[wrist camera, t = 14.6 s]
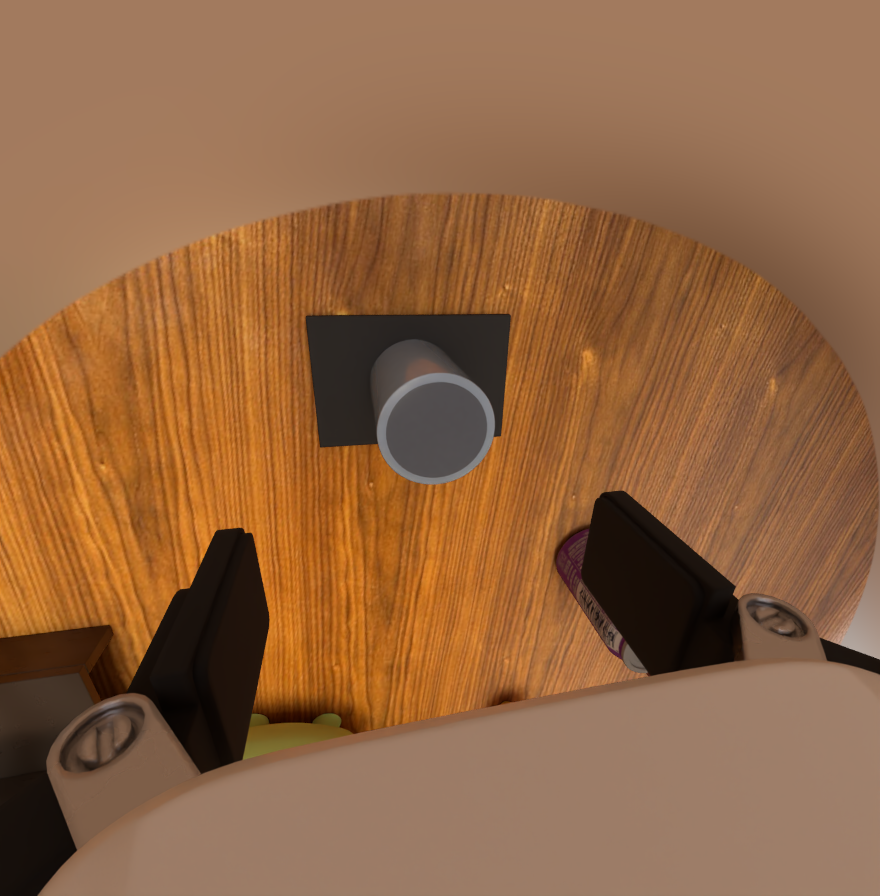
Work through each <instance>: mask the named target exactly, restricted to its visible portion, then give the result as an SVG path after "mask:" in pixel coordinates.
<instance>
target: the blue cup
mask: <svg viewBox="0 0 880 896" xmlns="http://www.w3.org/2000/svg"><path fill="white" fill-rule="evenodd" d="M370 393H371V400H372V407H373V414H374V421H375V428H376V434H377V441H378V446H379V449H380V452H381V454H382V456H383V458H384V459H385V461H386V462H387V464H388V465H389V466H390V467H391V468H392V469H393V470H394V471H395V472H396V473H398V474H399V475H401V476H402V477H404V478H406V479H408V480H411V481H414V482H417V483H422V484H442V483H447V482H450V481H453V480H456V479H458V478H460V477H462V476H464V475H466V474H467V473H469V472H470V471H471V470H473V469H474V468H475V467H476V466H477V465H478V464H479V463H480V462H481V461H482V459H483V458H484V457H485V455H486V454H487V452H488V450H489V448H490V446H491V443H492V440H493V436H494V430H495V418H494V412H493V409H492V406H491V404H490V401H489V400H488V398H487V396H486V395H485V393H484V392H483V391H482V390H481V389H480V388H479V387H478V386H477V385H476V384H475V383H474V381H473V380H472V379H471V378H470V377H469V376H468V375H467V374H466V373H465V372H464V371H463V370H462V369H461V368H460V367H459V366H458V365H457V364H456V363H455V362H454V361H453V360H452V359H451V358H450V357H449V356H448V355H447V354H446V353H445V352H444V351H443V350H442V349H441V348H440V347H438V346H437V345H435V344H433V343H431V342H428V341H424V340H417V339H412V340H405V341H401V342H398V343H396V344H394V345H392V346H390V347H389V348H387V349H386V350H385V351H384V352H383V353H382V354H381V355H380V356H379V357H378V358H377V360H376V362H375V363H374V366H373V368H372V371H371V374H370Z"/></svg>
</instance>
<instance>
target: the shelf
mask: <svg viewBox="0 0 880 896" xmlns="http://www.w3.org/2000/svg"><path fill="white" fill-rule="evenodd" d="M112 636H113V633H112V630H111V628H110V626H109V625H108V626H100V627H92V628H84V629H76V630H68V631H60V632H52V633H44V634H36V635H28V636H20V637H12V638H3V639H0V806H1V805H2V804H3V803H5V802H6V801H7V800H9V799H10V798H11V797H13V796H14V795H16V794H17V793H18V792H20V791H21V790H22V789H24V788H25V787H26V786H28V785H29V784H31V783H32V782H33V781H35V780H36V779H37V778H39V777H40V776H41V775H43V774H44V773H45V772H47V764H46V760H47V757H48V754H49V752H50V749H51V746H52V745H53V743H54V742H55V740H56V739H57V737H58V736H59V734H60V733H61V732H62V731H63V730H64V729H65V728H66V727H67V726H68V725H69V724H70V723H71V722H72V721H73V720H74V719H75V718H76V717H77V716H79V715H80V714H81V713H83V712H84V711H85V710H87V709H88V708H90V707H91V706H93V705H95V704H97V703H99V702H101V699H100V697H99V695H98V693H97V691H96V689H95V687H94V685H93V682H92V680H91V678H90V676H89V673H90V672H91V670H92V669H93V667H94V665H95V664H96V662H97V660H98V659H99V657H100V656H101V654H102V652H103V651H104V649H105V648H106V646H107V644H108V643H109V641H110V640H111V638H112Z"/></svg>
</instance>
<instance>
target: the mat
mask: <svg viewBox="0 0 880 896" xmlns="http://www.w3.org/2000/svg"><path fill="white" fill-rule="evenodd" d="M510 319H511V315H509V314H452V315H322V316H306V324H307V333H308V342H309V351H310V360H311V369H312V378H313V387H314V396H315V405H316V414H317V423H318V432H319V441H320V447H334V446H351V445H367V444H378V441H377V434H376V428H375V421H374V414H373V407H372V400H371V393H370V374H371V371H372V368H373V366H374V363H375V362H376V360H377V358H378V357H379V356H380V355H381V354H382V353H383V352H384V351H385V350H386V349H387V348H389V347H390V346H392V345H394V344H396V343H398V342H401V341H405V340H412V339H417V340H424V341H428V342H431V343H433V344H435V345H437V346H438V347H440V348H441V349H442V350H443V351H444V352H445V353H446V354H447V355H448V356H449V357H450V358H451V359H452V360H453V361H454V362H455V363H456V364H457V365H458V366H459V367H460V368H461V369H462V370H463V371H464V372H465V373H466V374H467V375H468V376H469V377H470V378H471V379H472V380H473V381H474V383H475V384H476V385H477V386H478V387H479V388H480V389H481V390H482V391H483V392H484V393H485V395H486V396H487V398H488V400H489V401H490V404H491V406H492V409H493V412H494V418H495V430H494V436H493V437H497V436H501V429H502V417H503V404H504V392H505V380H506V368H507V355H508V343H509V331H510Z"/></svg>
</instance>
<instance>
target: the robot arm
mask: <svg viewBox="0 0 880 896" xmlns="http://www.w3.org/2000/svg"><path fill="white" fill-rule="evenodd" d="M581 577H582V580H583V582H584V584H585V586H586V587H587V588H588V590H589V591H590V593H591V594H592V595H593V597H594V598H595V599H596V601H597V602H598V604H599V605H600V606H601V608H602V609H603V611H604V612H605V613H606V615H607V616H608V618H609V619H610V620H611V622H612V623H613V624H614V626H615V627H616V629H617V630H618V631H619V633H620V634H621V636H622V637H623V638H624V640H625V641H626V643H627V644H628V645H629V647H630V648H631V649H632V651H633V652H634V654H635V655H636V656H637V658H638V659H639V661H640V662H641V663H642V665H643V666H644V667H645V669H646V670H647V672H648V673H649V674H650V676H649V677H643V678H638V679H633V680H627V681H622V682H617V683H611V684H606V685H601V686H595V687H590V688H585V689H580V690H574V691H569V692H564V693H559V694H554V695H548V696H543V697H538V698H533V699H528V700H523V701H517V702H512V703H507V704H502V705H497V706H492V707H487V708H482V709H476V710H471V711H466V712H461V713H456V714H451V715H446V716H441V717H436V718H431V719H426V720H421V721H416V722H411V723H406V724H401V725H396V726H391V727H386V728H381V729H376V730H371V731H366V732H361V733H356V734H352V735H347V736H343V737H338V738H333V739H329V740H324V741H320V742H315V743H310V744H306V745H301V746H297V747H292V748H288V749H283V750H279V751H275V752H271V753H267V754H264V755H260V756H256V757H252V758H248V759H245V760H243V756H244V751H245V746H246V741H247V736H248V731H249V726H250V720H251V715H252V710H253V705H254V700H255V695H256V690H257V685H258V680H259V675H260V670H261V665H262V660H263V655H264V650H265V645H266V640H267V634H268V629H269V612H268V607H267V602H266V597H265V592H264V587H263V582H262V577H261V572H260V567H259V563H258V558H257V553H256V548H255V543H254V538H253V535H252V533H245V532H244V530H243V528H234V529H224V530H217V531H216V532H215V534H214V536H213V538H212V541H211V543H210V545H209V547H208V549H207V552H206V554H205V556H204V558H203V560H202V563H201V565H200V567H199V569H198V571H197V574H196V576H195V578H194V580H193V582H192V585H191V587H190V588H188V589H180V590H179V591H177V592H176V594H175V595H174V597H173V599H172V601H171V603H170V605H169V607H168V609H167V611H166V613H165V615H164V617H163V619H162V621H161V623H160V625H159V627H158V629H157V631H156V634H155V636H154V638H153V640H152V642H151V644H150V646H149V648H148V650H147V652H146V654H145V656H144V658H143V660H142V662H141V664H140V666H139V668H138V670H137V672H136V674H135V676H134V678H133V680H132V682H131V685H130V687H129V689H128V691H127V693H126V694H120V695H117V696H114V697H111V698H108V699H105V700H103V701H101V702H99V703H97V704H95V705H93V706H91V707H90V708H88V709H87V710H85V711H84V712H83V713H81V714H80V715H79V716H77V717H76V718H75V719H74V720H73V721H72V722H71V723H70V724H69V725H68V726H67V727H66V728H65V729H64V730H63V731H62V732H61V733H60V734H59V736H58V737H57V739H56V740H55V742H54V743H53V745H52V746H51V749H50V752H49V754H48V757H47V760H46V764H47V772H45V773H44V774H43V775H41V776H40V777H39V778H37V779H36V780H35V781H33V782H32V783H31V784H29V785H28V786H26V787H25V788H24V789H22V790H21V791H20V792H18V793H17V794H16V795H14V796H13V797H11V798H10V799H9V800H7V801H6V802H5V803H3V804H2V805H1V806H0V896H880V660H879V659H877V658H874V657H871V656H868V655H866V654H863V653H860V652H857V651H855V650H852V649H849V648H846V647H844V646H841V645H838V644H835V643H833V642H830V641H827V640H824V639H822V638H819V635H818V632H817V629H816V628H815V626H814V624H813V622H812V621H811V620H810V619H809V618H808V617H807V616H806V615H805V614H804V613H802V612H801V611H800V610H798V609H797V608H796V607H794V606H792V605H790V604H788V603H787V602H785V601H783V600H780V599H777V598H775V597H772V596H768V595H764V594H752V593H751V594H747V595H743V596H742V597H741V598H740V599H739V600H738V599H737V598H736V597H735V596H734V595H733V592H734V590H735V587H736V586H734V585H733V584H732V583H731V582H730V581H729V580H727V579H726V578H725V577H724V576H723V575H722V574H720V573H719V572H718V571H717V570H716V569H715V568H713V567H712V566H711V565H710V564H709V563H708V562H707V561H705V560H704V559H703V558H702V557H701V556H700V555H698V554H697V553H696V552H695V551H694V550H693V549H691V548H690V547H689V546H688V545H687V544H686V543H684V542H683V541H682V540H681V539H680V538H679V537H677V536H676V535H675V534H674V533H673V532H672V531H670V530H669V529H668V528H667V527H666V526H665V525H663V524H662V523H661V522H660V521H659V520H658V519H656V518H655V517H654V516H653V515H652V514H651V513H649V512H648V511H647V510H646V509H645V508H644V507H642V506H641V505H640V504H639V503H638V502H637V501H635V500H634V499H633V498H632V497H631V496H630V495H628V494H627V493H626V492H624V491H613V492H604V493H602V494H601V495H600V498H597V499H596V501H595V504H594V509H593V514H592V519H591V524H590V529H589V534H588V539H587V544H586V548H585V553H584V558H583V563H582V568H581Z"/></svg>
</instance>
